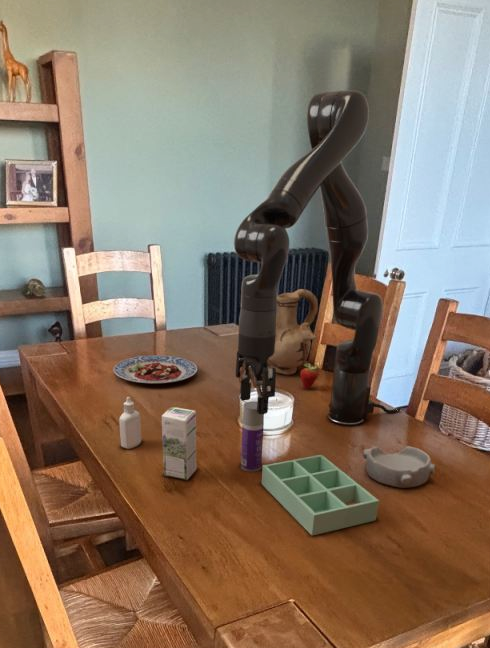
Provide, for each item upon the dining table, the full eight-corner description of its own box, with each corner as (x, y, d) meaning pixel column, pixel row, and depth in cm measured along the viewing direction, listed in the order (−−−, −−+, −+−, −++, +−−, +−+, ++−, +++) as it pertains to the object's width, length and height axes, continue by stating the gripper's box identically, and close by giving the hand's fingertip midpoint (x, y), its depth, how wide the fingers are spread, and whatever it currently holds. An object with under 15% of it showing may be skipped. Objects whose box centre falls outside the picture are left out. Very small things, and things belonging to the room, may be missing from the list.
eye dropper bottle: (146, 445, 147) (143, 398, 141) (124, 450, 145) (120, 402, 138) (138, 438, 150) (136, 392, 144) (117, 443, 148) (113, 396, 142)
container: (259, 472, 137) (262, 410, 129) (238, 470, 138) (241, 408, 130) (262, 463, 141) (266, 402, 133) (242, 461, 142) (245, 400, 134)
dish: (353, 467, 141) (356, 447, 139) (403, 457, 146) (406, 438, 143) (390, 496, 130) (394, 475, 127) (442, 485, 135) (447, 465, 132)
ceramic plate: (213, 372, 194) (213, 363, 193) (162, 396, 176) (162, 386, 174) (150, 356, 206) (150, 348, 204) (96, 377, 187) (95, 367, 185)
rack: (319, 472, 138) (321, 454, 136) (375, 520, 122) (379, 500, 119) (261, 484, 133) (262, 465, 130) (311, 535, 116) (314, 515, 114)
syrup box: (197, 469, 138) (196, 409, 130) (186, 481, 133) (185, 419, 125) (174, 465, 139) (172, 405, 132) (163, 476, 134) (160, 415, 127)
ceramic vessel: (261, 359, 207) (265, 282, 194) (317, 364, 204) (325, 286, 191) (250, 376, 192) (253, 294, 179) (310, 383, 189) (318, 299, 176)
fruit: (319, 389, 184) (322, 364, 180) (306, 393, 181) (308, 366, 177) (308, 384, 187) (311, 359, 183) (295, 387, 185) (297, 361, 181)
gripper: (290, 338, 119) (284, 416, 128) (258, 320, 130) (254, 393, 139) (255, 342, 117) (251, 421, 125) (226, 323, 128) (224, 397, 136)
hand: (253, 406), depth 132 cm, fingers open, 8 cm apart
